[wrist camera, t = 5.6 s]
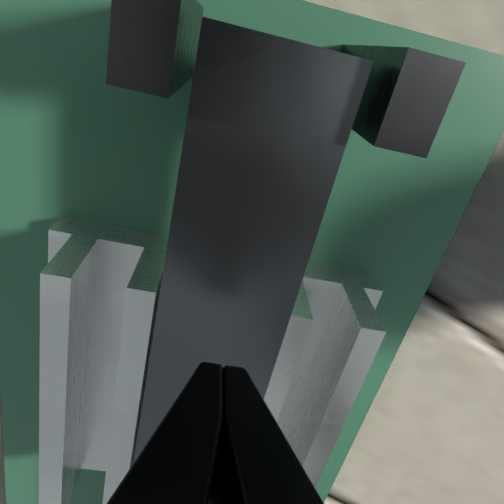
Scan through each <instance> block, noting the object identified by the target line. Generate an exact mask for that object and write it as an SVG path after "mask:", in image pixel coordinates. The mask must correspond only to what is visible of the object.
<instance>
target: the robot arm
mask: <svg viewBox="0 0 504 504" xmlns="http://www.w3.org/2000/svg"><path fill="white" fill-rule="evenodd" d="M107 504H324V502H323V501H322V499H321V497H320V496H319V494H318V492H317V490H316V489H315V487H314V485H313V484H312V482H311V480H310V478H309V477H308V475H307V473H306V472H305V470H304V468H303V466H302V465H301V463H300V461H299V460H298V458H297V456H296V454H295V453H294V451H293V449H292V447H291V446H290V444H289V442H288V441H287V439H286V437H285V435H284V434H283V432H282V430H281V429H280V427H279V425H278V423H277V422H276V420H275V418H274V417H273V415H272V413H271V411H270V410H269V408H268V406H267V405H266V403H265V401H264V399H263V398H262V396H261V394H260V392H259V391H258V389H257V387H256V386H255V384H254V382H253V380H252V379H251V377H250V375H249V374H248V372H247V370H246V369H245V368H242V367H236V366H229V365H226V366H224V367H222V365H221V364H216V363H209V362H201V363H200V364H199V365H198V367H197V368H196V370H195V371H194V373H193V374H192V376H191V377H190V379H189V380H188V382H187V383H186V385H185V386H184V388H183V389H182V391H181V392H180V394H179V395H178V397H177V398H176V400H175V401H174V403H173V404H172V406H171V407H170V409H169V410H168V412H167V413H166V415H165V416H164V418H163V419H162V421H161V423H160V424H159V426H158V427H157V429H156V430H155V432H154V433H153V435H152V436H151V438H150V439H149V441H148V442H147V444H146V445H145V447H144V448H143V450H142V451H141V453H140V454H139V456H138V457H137V459H136V460H135V462H134V463H133V465H132V466H131V468H130V469H129V471H128V472H127V474H126V475H125V477H124V478H123V480H122V481H121V483H120V484H119V486H118V487H117V489H116V490H115V492H114V493H113V495H112V496H111V498H110V499H109V501H108V502H107Z"/></svg>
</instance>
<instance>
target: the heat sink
mask: <svg viewBox="0 0 504 504" xmlns="http://www.w3.org/2000/svg"><path fill="white" fill-rule="evenodd" d="M203 9H204V8H203V7H202V6H201V5H200V3H199V2H198V1H197V0H112V2H111V16H110V31H109V45H108V59H107V74H106V84H107V85H112V86H116V87H120V88H125V89H129V90H133V91H137V92H142V93H146V94H150V95H155V96H159V97H163V98H169V97H171V96H172V95H173V94H174V93H175V92H176V91H177V90H178V89H180V88H181V87H182V86H183V85H184V84H185V83H186V82H188V81H189V80H190V79H191V78H192V77H193V74H194V67H195V61H196V55H197V48H198V42H199V35H200V29H201V22H202V16H203ZM341 53H345V54H348V55H352V56H356V57H360V58H364V59H368V60H371V61H374V62H373V65H372V68H371V71H370V74H369V77H368V80H367V83H366V86H365V89H364V93H363V96H362V99H361V102H360V105H359V108H358V111H357V114H356V117H355V120H354V123H353V126H352V130H353V131H354V132H356V133H357V134H358V135H360V136H361V137H362V138H364V139H365V140H366V141H367V142H369V143H370V144H371V145H373V146H374V147H379V148H383V149H387V150H392V151H396V152H400V153H405V154H409V155H413V156H418V157H422V158H427V156H428V153H429V151H430V148H431V146H432V144H433V141H434V139H435V136H436V134H437V132H438V129H439V127H440V124H441V122H442V120H443V117H444V115H445V112H446V110H447V107H448V105H449V103H450V100H451V98H452V95H453V93H454V91H455V88H456V86H457V83H458V81H459V79H460V76H461V74H462V71H463V69H464V67H465V64H466V62H462V61H458V60H455V59H451V58H447V57H444V56H440V55H436V54H432V53H429V52H425V51H421V50H418V49H414V48H410V47H392V46H368V45H344V44H343V45H342V48H341ZM167 242H168V236H163V235H158V234H153V233H147V232H142V231H137V230H131V229H126V228H121V227H115V226H110V225H105V224H100V223H94V222H89V221H84V220H78V219H73V218H68V217H61V218H60V219H59V220H58V221H57V222H56V223H55V224H54V225H53V226H52V227H51V228H50V229H49V230H48V264H47V265H46V267H45V268H44V269H43V270H42V271H41V273H40V368H39V504H69V501H70V499H71V496H72V493H73V490H74V488H75V485H76V482H77V479H78V476H79V474H80V471H81V469H90V470H99V471H106V476H105V485H104V494H103V503H102V504H107V502H108V501H109V499H110V498H111V496H112V495H113V493H114V492H115V490H116V489H117V487H118V486H119V484H120V483H121V481H122V480H123V478H124V477H125V475H126V474H127V472H128V471H129V469H130V468H131V466H132V465H133V462H134V456H135V449H136V443H137V436H138V430H139V423H140V417H141V410H142V404H143V397H144V391H145V384H146V378H147V372H148V365H149V359H150V352H151V346H152V339H153V333H154V326H155V320H156V313H157V307H158V300H159V294H160V288H161V281H162V275H163V268H164V262H165V255H166V249H167ZM382 293H383V290H382V289H381V287H380V285H379V283H378V282H377V280H376V278H375V277H374V275H370V274H365V273H360V272H354V271H349V270H344V269H338V268H333V267H328V266H322V265H317V264H312V263H308V265H307V268H306V271H305V274H304V277H303V280H302V283H301V286H300V289H299V293H298V296H297V299H296V302H295V305H294V308H293V311H292V314H291V317H290V320H289V323H288V326H287V329H286V333H285V336H284V339H283V342H282V345H281V348H280V351H279V354H278V357H277V360H276V363H275V366H274V370H273V373H272V376H271V379H270V382H269V385H268V388H267V391H266V394H265V397H264V401H265V403H266V405H267V406H268V408H269V410H270V411H271V413H272V415H273V417H274V418H275V420H276V422H277V423H278V425H279V427H280V429H281V430H282V432H283V434H284V435H285V437H286V439H287V441H288V442H289V444H290V446H291V447H292V449H293V451H294V453H295V454H296V456H297V458H298V460H299V461H300V463H301V465H302V466H303V468H304V470H305V472H306V473H307V475H308V477H309V478H310V480H311V482H312V484H313V485H314V487H316V485H317V482H318V480H319V478H320V476H321V474H322V471H323V469H324V467H325V465H326V463H327V461H328V458H329V456H330V454H331V452H332V450H333V447H334V445H335V443H336V441H337V439H338V437H339V434H340V432H341V430H342V428H343V426H344V423H345V421H346V419H347V417H348V415H349V413H350V410H351V408H352V406H353V404H354V402H355V399H356V397H357V395H358V393H359V391H360V389H361V386H362V384H363V382H364V380H365V378H366V375H367V373H368V371H369V369H370V367H371V365H372V362H373V360H374V358H375V356H376V354H377V351H378V349H379V347H380V345H381V343H382V341H383V338H384V336H385V334H386V330H385V328H384V326H383V324H382V322H381V321H380V319H379V317H378V315H377V313H376V311H375V309H376V306H377V304H378V302H379V300H380V297H381V295H382Z"/></svg>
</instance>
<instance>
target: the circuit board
mask: <svg viewBox="0 0 504 504" xmlns="http://www.w3.org/2000/svg"><path fill="white" fill-rule="evenodd" d="M197 1H198V2H199V3H200V5H201V6H202V7H203V8H204V9H203V17H207V18H210V19H214V20H218V21H222V22H226V23H230V24H233V25H237V26H241V27H245V28H249V29H253V30H256V31H260V32H264V33H268V34H272V35H276V36H279V37H283V38H287V39H291V40H295V41H299V42H302V43H306V44H310V45H314V46H318V47H322V48H325V49H329V50H333V51H337V52H341V48H342V45H343V44H344V45H368V46H392V47H410V48H414V49H418V50H421V51H425V52H429V53H432V54H436V55H440V56H444V57H447V58H451V59H455V60H458V61H462V62H466V64H465V67H464V69H463V71H462V74H461V76H460V79H459V81H458V83H457V86H456V88H455V91H454V93H453V95H452V98H451V100H450V103H449V105H448V107H447V110H446V112H445V115H444V117H443V120H442V122H441V124H440V127H439V129H438V132H437V134H436V136H435V139H434V141H433V144H432V146H431V148H430V151H429V153H428V156H427V158H422V157H418V156H413V155H409V154H405V153H400V152H396V151H392V150H387V149H383V148H379V147H374V146H373V145H371V144H370V143H369V142H367V141H366V140H365V139H364V138H362V137H361V136H360V135H358V134H357V133H356V132H354V131H353V130H352V129H351V133H350V136H349V139H348V142H347V145H346V148H345V151H344V154H343V157H342V160H341V163H340V166H339V169H338V173H337V176H336V179H335V182H334V185H333V188H332V191H331V194H330V197H329V200H328V203H327V206H326V209H325V213H324V216H323V219H322V222H321V225H320V228H319V231H318V234H317V237H316V240H315V243H314V246H313V249H312V253H311V256H310V259H309V262H308V263H312V264H317V265H322V266H328V267H333V268H338V269H344V270H349V271H354V272H360V273H365V274H370V275H374V277H375V278H376V280H377V282H378V283H379V285H380V287H381V289H382V290H383V293H382V295H381V297H380V300H379V302H378V304H377V306H376V309H375V311H376V313H377V315H378V317H379V319H380V321H381V322H382V324H383V326H384V328H385V330H386V334H385V336H384V338H383V341H382V343H381V345H380V347H379V349H378V351H377V354H376V356H375V358H374V360H373V362H372V365H371V367H370V369H369V371H368V373H367V375H366V378H365V380H364V382H363V384H362V386H361V389H360V391H359V393H358V395H357V397H356V399H355V402H354V404H353V406H352V408H351V410H350V413H349V415H348V417H347V419H346V421H345V423H344V426H343V428H342V430H341V432H340V434H339V437H338V439H337V441H336V443H335V445H334V447H333V450H332V452H331V454H330V456H329V458H328V461H327V463H326V465H325V467H324V469H323V471H322V474H321V476H320V478H319V480H318V482H317V485H316V487H315V489H316V490H317V492H318V494H319V496H320V497H321V499H322V501H323V502H324V501H325V499H326V497H327V495H328V493H329V491H330V489H331V487H332V485H333V483H334V481H335V478H336V476H337V474H338V472H339V470H340V468H341V466H342V464H343V462H344V460H345V458H346V456H347V454H348V452H349V450H350V447H351V445H352V443H353V441H354V439H355V437H356V435H357V433H358V431H359V429H360V427H361V425H362V423H363V421H364V419H365V417H366V414H367V412H368V410H369V408H370V406H371V404H372V402H373V400H374V398H375V396H376V394H377V392H378V390H379V388H380V386H381V383H382V381H383V379H384V377H385V375H386V373H387V371H388V369H389V367H390V365H391V363H392V361H393V359H394V357H395V355H396V353H397V350H398V348H399V346H400V344H401V342H402V340H403V338H404V336H405V334H406V332H407V330H408V328H409V326H410V324H411V322H412V319H413V317H414V315H415V313H416V311H417V309H418V307H419V305H420V303H421V301H422V299H423V297H424V295H425V293H426V291H427V289H428V286H429V284H430V282H431V280H432V278H433V276H434V274H435V272H436V270H437V268H438V266H439V264H440V262H441V260H442V258H443V255H444V253H445V251H446V249H447V247H448V245H449V243H450V241H451V239H452V237H453V235H454V233H455V231H456V229H457V227H458V224H459V222H460V220H461V218H462V216H463V214H464V212H465V210H466V208H467V206H468V204H469V202H470V200H471V198H472V196H473V194H474V191H475V189H476V187H477V185H478V183H479V181H480V179H481V177H482V175H483V173H484V171H485V169H486V167H487V165H488V163H489V160H490V158H491V156H492V154H493V152H494V150H495V148H496V146H497V144H498V142H499V140H500V138H501V136H502V134H503V132H504V56H503V55H499V54H496V53H492V52H488V51H485V50H481V49H477V48H474V47H470V46H467V45H463V44H459V43H456V42H452V41H448V40H445V39H441V38H437V37H434V36H430V35H426V34H423V33H419V32H416V31H412V30H408V29H405V28H401V27H397V26H394V25H390V24H386V23H383V22H379V21H376V20H372V19H368V18H365V17H361V16H357V15H354V14H350V13H346V12H343V11H339V10H335V9H332V8H328V7H325V6H321V5H317V4H314V3H310V2H306V1H303V0H197ZM111 2H112V0H0V391H1V411H2V431H3V451H4V471H5V492H6V504H39V368H40V273H41V271H42V270H43V269H44V268H45V267H46V265H47V264H48V230H49V229H50V228H51V227H52V226H53V225H54V224H55V223H56V222H57V221H58V220H59V219H60V218H61V217H68V218H73V219H78V220H84V221H89V222H94V223H100V224H105V225H110V226H115V227H121V228H126V229H131V230H137V231H142V232H147V233H153V234H158V235H163V236H169V229H170V223H171V216H172V210H173V204H174V197H175V191H176V184H177V178H178V171H179V165H180V158H181V152H182V145H183V139H184V132H185V126H186V119H187V113H188V107H189V100H190V94H191V87H192V81H193V77H192V78H191V79H190V80H189V81H188V82H186V83H185V84H184V85H183V86H182V87H181V88H180V89H178V90H177V91H176V92H175V93H174V94H173V95H172V96H171V97H169V98H163V97H159V96H155V95H150V94H146V93H142V92H137V91H133V90H129V89H125V88H120V87H116V86H112V85H107V84H106V74H107V59H108V45H109V31H110V16H111ZM201 23H202V22H201ZM194 68H195V67H194ZM105 476H106V471H99V470H90V469H81V471H80V474H79V476H78V479H77V482H76V485H75V488H74V490H73V493H72V496H71V499H70V501H69V504H102V503H103V494H104V485H105Z"/></svg>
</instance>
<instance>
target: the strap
mask: <svg viewBox="0 0 504 504" xmlns="http://www.w3.org/2000/svg"><path fill="white" fill-rule="evenodd" d="M373 62H374V61H371V60H368V59H364V58H360V57H356V56H352V55H348V54H345V53H341V52H337V51H333V50H329V49H325V48H322V47H318V46H314V45H310V44H306V43H302V42H299V41H295V40H291V39H287V38H283V37H279V36H276V35H272V34H268V33H264V32H260V31H256V30H253V29H249V28H245V27H241V26H237V25H233V24H230V23H226V22H222V21H218V20H214V19H210V18H207V17H203V16H202V23H201V29H200V35H199V42H198V48H197V55H196V61H195V68H194V74H193V81H192V87H191V94H190V100H189V107H188V113H187V119H186V126H185V132H184V139H183V145H182V152H181V158H180V165H179V171H178V178H177V184H176V191H175V197H174V204H173V210H172V216H171V223H170V229H169V236H168V242H167V249H166V255H165V262H164V268H163V275H162V281H161V288H160V294H159V300H158V307H157V313H156V320H155V326H154V333H153V339H152V346H151V352H150V359H149V365H148V372H147V378H146V384H145V391H144V397H143V404H142V410H141V417H140V423H139V430H138V436H137V443H136V449H135V456H134V462H135V460H136V459H137V457H138V456H139V454H140V453H141V451H142V450H143V448H144V447H145V445H146V444H147V442H148V441H149V439H150V438H151V436H152V435H153V433H154V432H155V430H156V429H157V427H158V426H159V424H160V423H161V421H162V419H163V418H164V416H165V415H166V413H167V412H168V410H169V409H170V407H171V406H172V404H173V403H174V401H175V400H176V398H177V397H178V395H179V394H180V392H181V391H182V389H183V388H184V386H185V385H186V383H187V382H188V380H189V379H190V377H191V376H192V374H193V373H194V371H195V370H196V368H197V367H198V365H199V364H200V363H201V362H209V363H216V364H221V365H222V367H224V366H226V365H229V366H236V367H242V368H245V369H246V370H247V372H248V374H249V375H250V377H251V379H252V380H253V382H254V384H255V386H256V387H257V389H258V391H259V392H260V394H261V396H262V398H263V399H264V397H265V394H266V391H267V388H268V385H269V382H270V379H271V376H272V373H273V370H274V366H275V363H276V360H277V357H278V354H279V351H280V348H281V345H282V342H283V339H284V336H285V333H286V329H287V326H288V323H289V320H290V317H291V314H292V311H293V308H294V305H295V302H296V299H297V296H298V293H299V289H300V286H301V283H302V280H303V277H304V274H305V271H306V268H307V265H308V262H309V259H310V256H311V253H312V249H313V246H314V243H315V240H316V237H317V234H318V231H319V228H320V225H321V222H322V219H323V216H324V213H325V209H326V206H327V203H328V200H329V197H330V194H331V191H332V188H333V185H334V182H335V179H336V176H337V173H338V169H339V166H340V163H341V160H342V157H343V154H344V151H345V148H346V145H347V142H348V139H349V136H350V133H351V129H352V126H353V123H354V120H355V117H356V114H357V111H358V108H359V105H360V102H361V99H362V96H363V93H364V89H365V86H366V83H367V80H368V77H369V74H370V71H371V68H372V65H373ZM134 462H133V463H134Z"/></svg>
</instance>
